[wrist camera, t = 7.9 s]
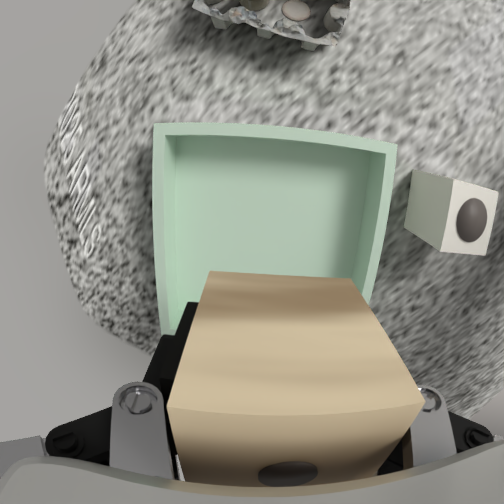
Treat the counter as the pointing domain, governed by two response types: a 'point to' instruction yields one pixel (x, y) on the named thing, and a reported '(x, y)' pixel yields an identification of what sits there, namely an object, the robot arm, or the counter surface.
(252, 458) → the maple block
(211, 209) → the tray
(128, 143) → the counter surface
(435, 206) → the ivory block
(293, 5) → the egg carton
